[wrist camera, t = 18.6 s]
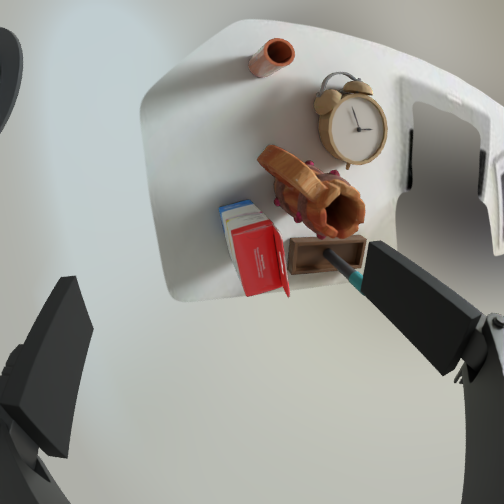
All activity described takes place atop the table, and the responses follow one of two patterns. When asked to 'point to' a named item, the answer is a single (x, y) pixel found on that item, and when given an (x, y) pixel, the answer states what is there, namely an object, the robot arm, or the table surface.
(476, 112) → the table surface
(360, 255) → the pen tray
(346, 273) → the marker
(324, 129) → the alarm clock
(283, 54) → the pen pot
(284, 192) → the mug
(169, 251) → the table surface
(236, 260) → the ink box
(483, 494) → the robot arm
